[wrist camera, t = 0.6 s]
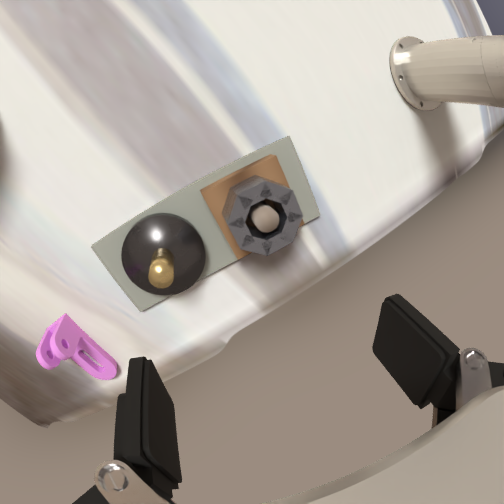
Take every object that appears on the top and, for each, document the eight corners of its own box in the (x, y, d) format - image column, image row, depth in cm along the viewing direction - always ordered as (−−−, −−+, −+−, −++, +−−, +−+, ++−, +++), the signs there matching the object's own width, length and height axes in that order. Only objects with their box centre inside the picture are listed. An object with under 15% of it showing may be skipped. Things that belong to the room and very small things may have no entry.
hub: (178, 196, 30) (177, 210, 25) (218, 265, 35) (226, 290, 29) (108, 240, 30) (95, 261, 25) (152, 301, 35) (150, 330, 29)
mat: (287, 136, 31) (289, 136, 30) (318, 213, 36) (320, 215, 35) (92, 244, 30) (90, 246, 30) (140, 309, 35) (140, 311, 35)
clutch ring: (272, 166, 29) (284, 171, 26) (295, 221, 33) (309, 232, 29) (212, 196, 29) (217, 205, 26) (241, 250, 32) (249, 265, 29)
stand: (270, 154, 31) (290, 159, 25) (298, 219, 35) (320, 236, 29) (200, 189, 30) (204, 202, 25) (234, 253, 35) (246, 277, 29)
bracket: (47, 327, 33) (32, 357, 27) (66, 312, 33) (51, 343, 27) (103, 377, 39) (98, 409, 33) (124, 366, 39) (120, 399, 33)
